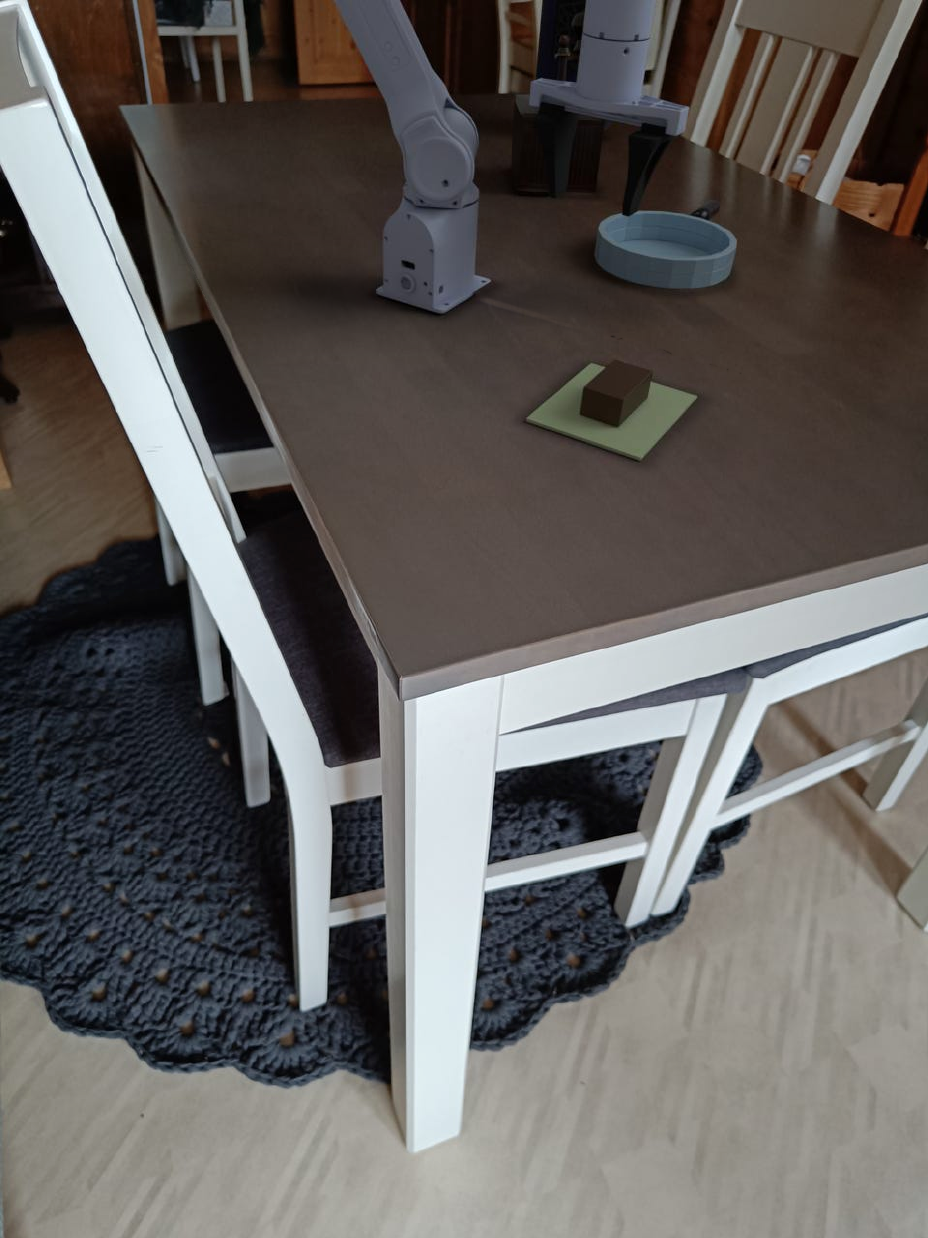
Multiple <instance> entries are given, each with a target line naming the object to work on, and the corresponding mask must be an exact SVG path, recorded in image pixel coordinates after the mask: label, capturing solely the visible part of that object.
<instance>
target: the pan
mask: <svg viewBox="0 0 928 1238" xmlns="http://www.w3.org/2000/svg"><path fill="white" fill-rule="evenodd" d="M596 233H597V234H596V240H595V248H594V253H593V254H594V255H593V256H594V259H595V262H596V263H597V264H598V266H599V267H601V268H602V269H603V270H604V271H606V272H607V273H609V274H611V275H613V276H614V277H617V278H619V279H622V280H624V281H627V282H630V283H634V284H638V285H643V286H647V287H653V288H660V289H670V290H671V289H672V290H692V289H701V288H707V287H711V286H714V285H717V284H719V283H722V282H723V281H725V280H726V279H727V278H728V277H729V276H730V275H731V271H732V268H733V264H734V260H735V255H736V251H737V248H738V247H737V246H738V245H737V244H738V240H737V237H735V236H734V234H733V233H732V232H731V231H730V230H728V229H726V228H725V227H723V226H722V225H720V224H719V223H716V222H712V221H711V220H709V221H708V220H705V219H701V218H698V217H694V216H690V214H685V213H681V212H679V213H678V212H672V211H664V210H638V211H637V212H636V213H634V214H633V215H631V216H629V217H628V216H624V215H622V212H620V213H617V214H613V215H610V216H608V217H606V218H604V219H603V220H601V221H600V223H599V226H598V228H597V232H596Z"/></svg>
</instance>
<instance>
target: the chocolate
mask: <svg viewBox="0 0 928 1238" xmlns="http://www.w3.org/2000/svg"><path fill="white" fill-rule="evenodd" d="M605 367H606V368H604V369H603V370H602V371H601V372H600V373H599V374H598V375H596V376H595V377H594V378H593V379H592V380H591V381H590V382H589V383H587V384H586V385H585V386H584V387H583V393H582V400H581V406H580V413H579V414H580V415H582V416H585V417H588V418H591V419H594V420H597V421H600V422H603V423H606V424H609V425H612V426H615V427H619V426H620V425H621V424H622V423H623V422H624V421H625V420H626V419H627V418H628V417H629V416H630V415H631V414H632V413H633V412H634V411H635V410H636V409H637V408H638V407H639V406H640V405H641V404H642V403H643V402H644V401H645V400H646V399H647V398H648V394H649V389H650V384H651V382H652V379H653V373H654V371H653V370H652V369H648V368H644V367H641V366H637V365H635V364H632V363H628V362H624V361H621V360H618V359H613V360H612V361H611V362H610V363H608V364H607V366H605Z"/></svg>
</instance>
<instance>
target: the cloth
mask: <svg viewBox="0 0 928 1238" xmlns="http://www.w3.org/2000/svg"><path fill="white" fill-rule="evenodd" d="M606 367H607V366H602V365H599V364H596V363H593V362H591V363H589V364H588V365H586V367H585V368H583V369H582V370H581V371H579V373H578V374H577V373H576V375H575V376H574V377H572V378H571V379H570V380H569V381H568V382H567V383H565V384H564V385H563V386H562V387H561V388H560V389H559V390H558V391H556V392H555V393H553V395H552V396H551V397H549V398H547V400H546V401H545V402H544V403H542V404H541V405H540V406H538V407H537V408H536V409H535V410H534V411H533V412H532V413H530V414H529V415H528V416H527V417H526V418H525V422H526V423H529V424H532V425H535V426H538V427H540V428H543V429H547V430H549V431H553V432H555V433H558V434H561V435H564V436H567V437H570V438H573V439H576V440H579V441H581V442H585V443H587V444H589V445H592V446H595V447H599V448H600V449H604V450H606V451H607V450H608V451H610V452H612V453H615V454H619V455H621V456H625V457H628V458H630V459H633V460H636V461H639V462H641V461H642V460H643V458H645V456H647V454H648V453H649V452H650V451H651V450H652V449H653V447H655V446H656V444H657V443H658V442H659V441H660V440H661V439H662V438H663V437H664V435H666V433H667V432H668V431H669V430H670V429H671V428H672V427H673V425H675V424H676V422H677V421H678V420H679V419H680V418H681V417H682V416H683V415H684V413H686V411H687V410H688V409H689V408H690V407H691V406H692V405H693V404H694V403H695V402H696V400H697V398H698V396H697V395H695V394H692V393H689V392H687V391H684V390H683V391H682V390H680V389H676V388H673V387H669V386H666V385H663V384H660V383H658V382H654V381H651V384H650V389H649V394H648V398H647V399H646V400H645V401H644V402H643V403H642V404H641V405H640V406H639V407H638V408H637V409H636V410H635V411H634V412H633V413H632V414H631V415H630V416H629V417H628V418H627V419H626V420H625V421H624V422H623V423H622V424H621V425H620V426H619V427H615V426H612V425H609V424H606V423H603V422H600V421H597V420H594V419H591V418H588V417H585V416H582V415H580V414H579V413H580V406H581V400H582V393H583V387H584V386H585V385H586V384H587V383H589V382H590V381H591V380H592V379H593V378H594V377H595V376H596V375H598V374H599V373H600V372H601V371H602V370H603V369H604V368H606Z"/></svg>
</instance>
